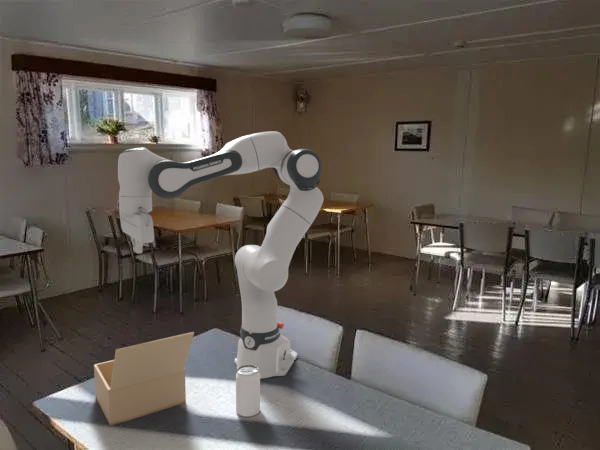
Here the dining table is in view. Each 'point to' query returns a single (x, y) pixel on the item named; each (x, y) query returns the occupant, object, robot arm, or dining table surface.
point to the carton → (136, 395)
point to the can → (248, 391)
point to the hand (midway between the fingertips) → (138, 252)
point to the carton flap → (150, 360)
